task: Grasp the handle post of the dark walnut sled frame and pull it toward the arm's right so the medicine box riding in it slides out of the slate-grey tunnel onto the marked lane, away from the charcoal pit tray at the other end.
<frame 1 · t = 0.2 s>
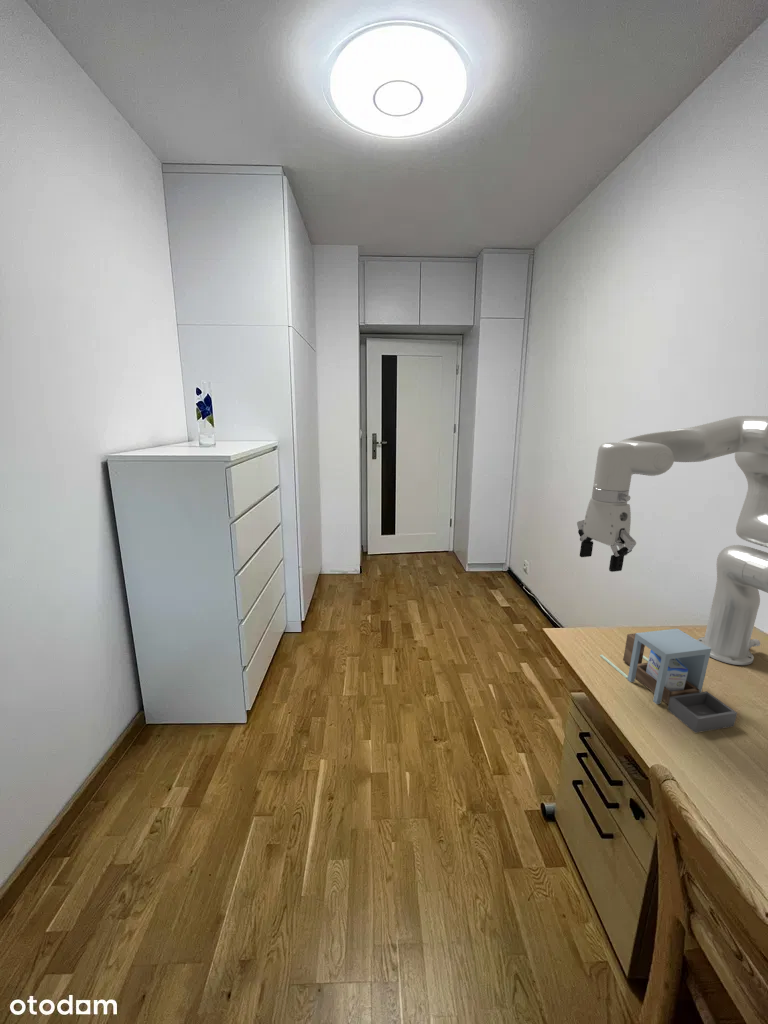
hand: (599, 563, 100), 30 cm above the table, fingers open, 9 cm apart
medicine box: (662, 689, 101), resting in sled
pit tray: (699, 717, 91), on the table
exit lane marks: (631, 664, 110), on the table
sled: (655, 665, 102), point 4 cm above the table, slide at 0.0 cm
tunnel: (662, 688, 101), on the table
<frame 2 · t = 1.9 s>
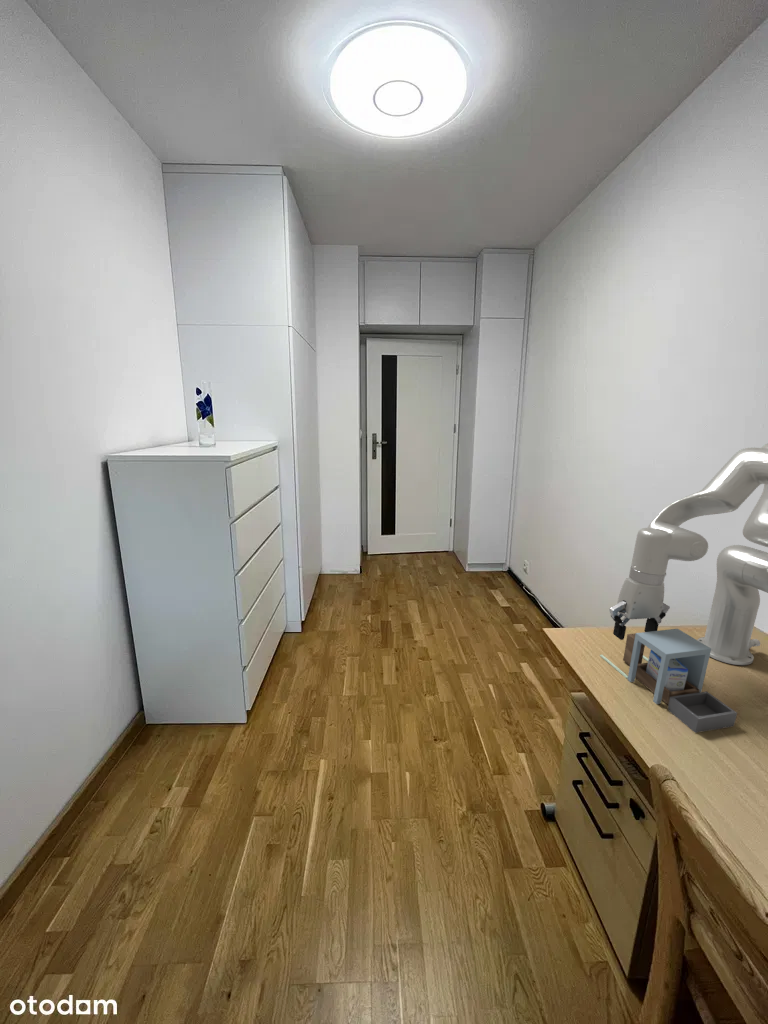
hand: (634, 635, 108), 9 cm above the table, fingers open, 9 cm apart
nothing on the table moved.
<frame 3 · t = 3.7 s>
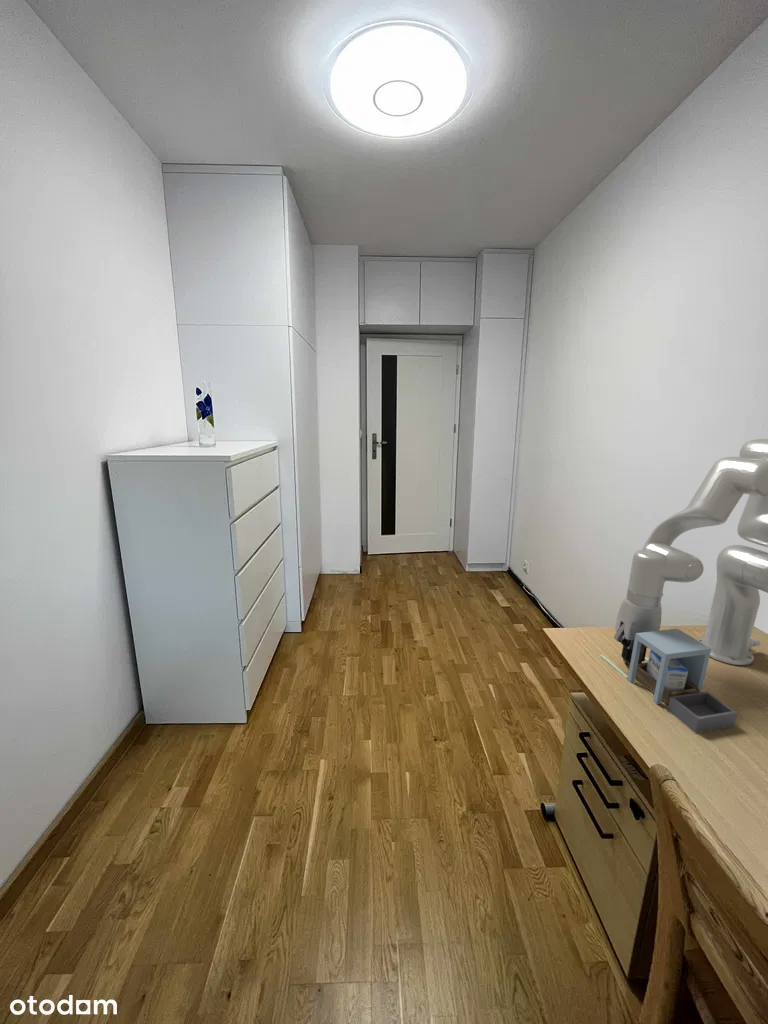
hand: (632, 658, 110), 2 cm above the table, fingers closed on sled, 3 cm apart
sled: (655, 665, 102), point 4 cm above the table, slide at 0.0 cm, touching gripper
everything else where it was.
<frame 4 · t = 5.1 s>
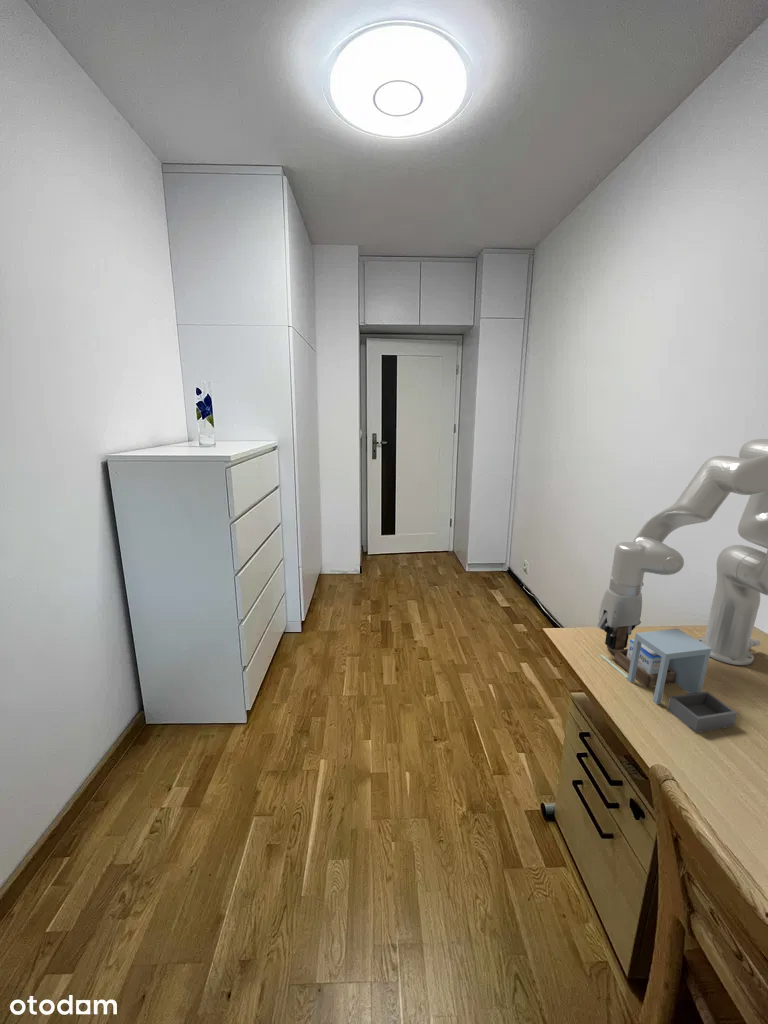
hand: (615, 645, 116), 2 cm above the table, fingers closed on sled, 3 cm apart
medicine box: (642, 676, 106), resting in sled
sled: (636, 651, 108), point 4 cm above the table, slide at 6.4 cm, touching gripper, medicine box
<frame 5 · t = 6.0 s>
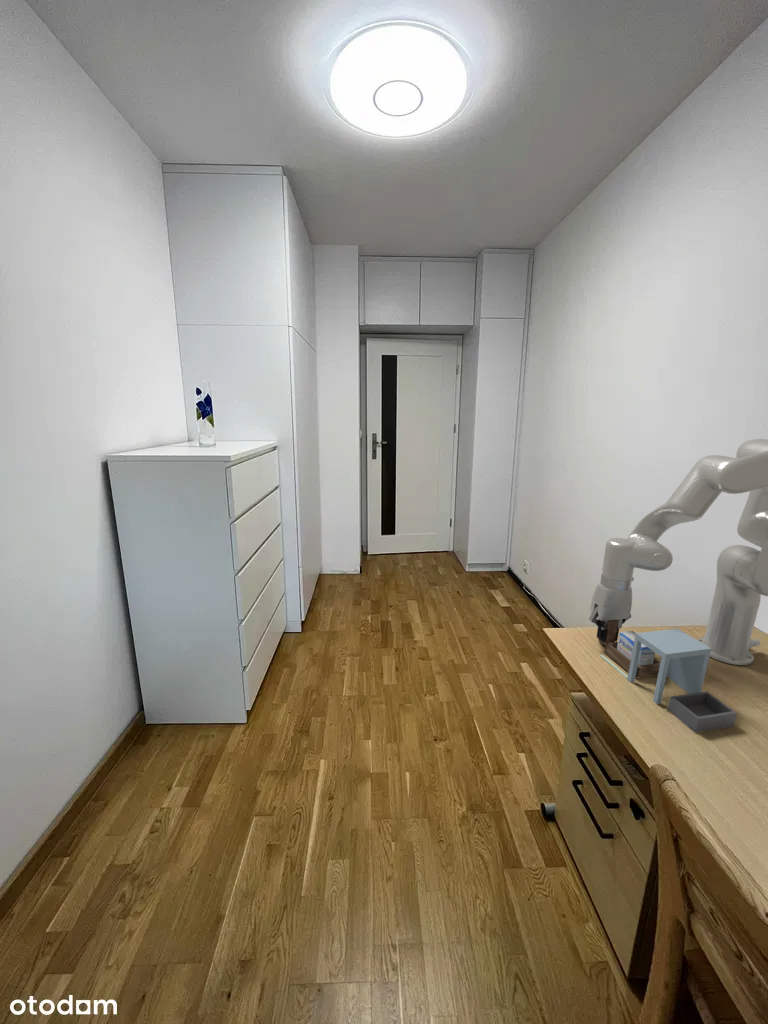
hand: (606, 638, 119), 2 cm above the table, fingers closed on sled, 3 cm apart
medicine box: (632, 667, 109), resting in sled
sled: (626, 644, 112), point 4 cm above the table, slide at 9.9 cm, touching gripper
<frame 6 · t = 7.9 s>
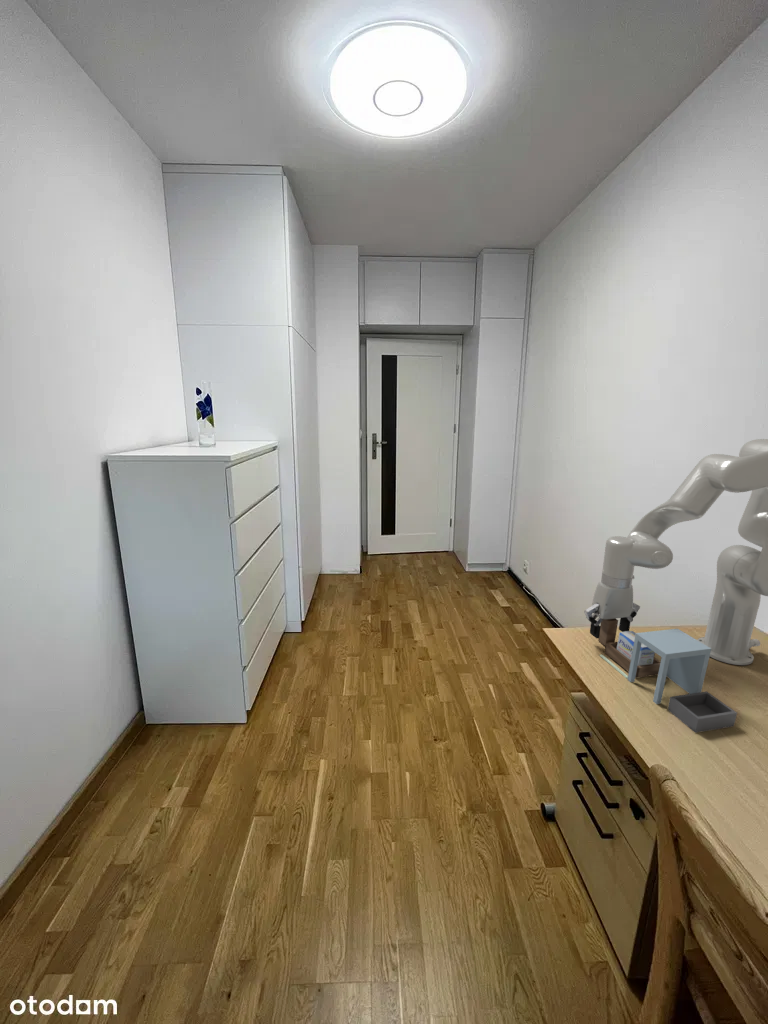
hand: (609, 634, 119), 3 cm above the table, fingers open, 9 cm apart
sled: (626, 644, 112), point 4 cm above the table, slide at 10.0 cm
everything else where it was.
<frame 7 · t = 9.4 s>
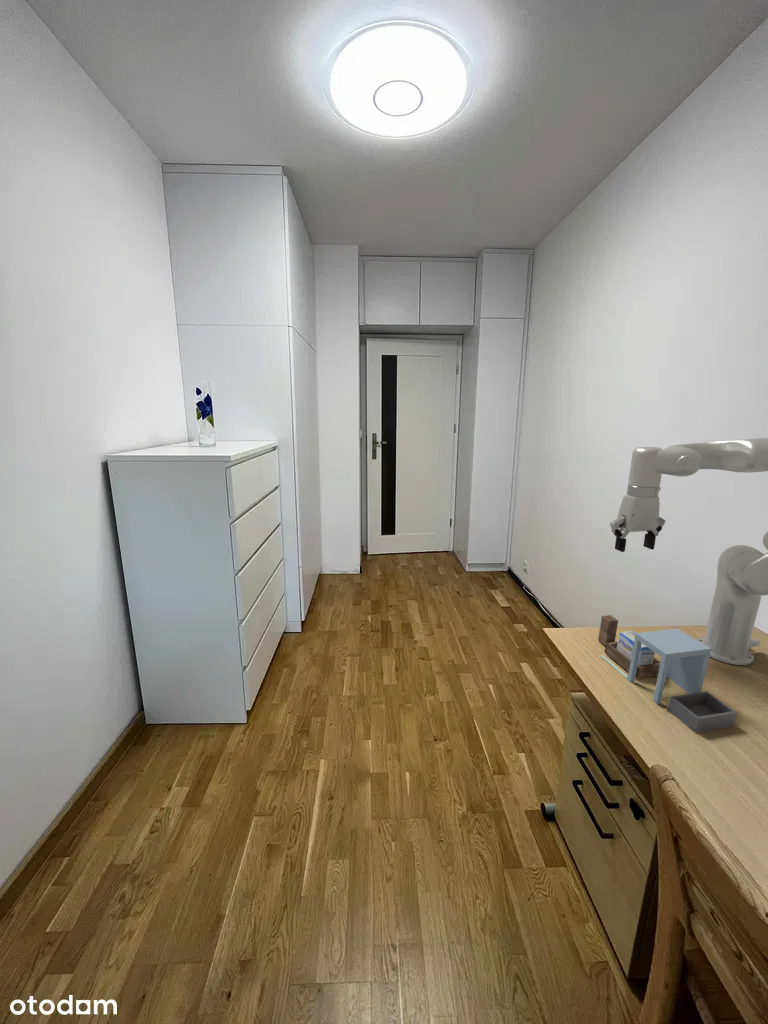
hand: (634, 549, 118), 28 cm above the table, fingers open, 9 cm apart
nothing on the table moved.
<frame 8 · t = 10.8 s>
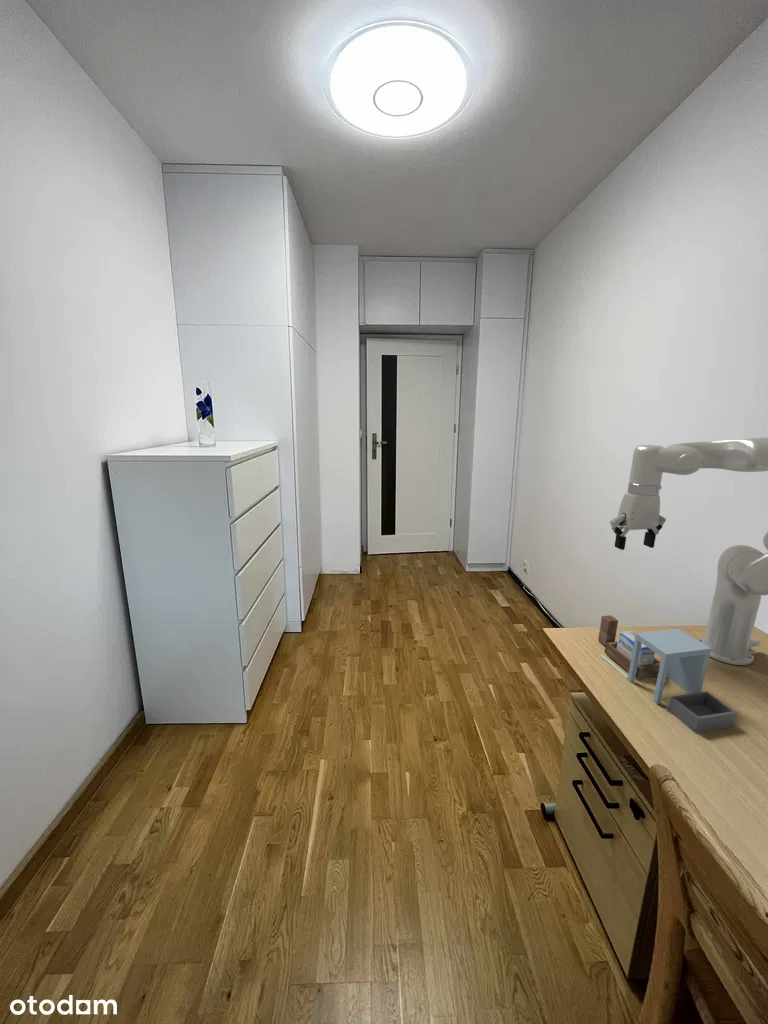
hand: (633, 547, 118), 28 cm above the table, fingers open, 9 cm apart
nothing on the table moved.
at the end: medicine box inside the target area (2.1 cm from its centre), resting in sled; medicine box tilted 0°; sled slide at 10.0 cm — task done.
